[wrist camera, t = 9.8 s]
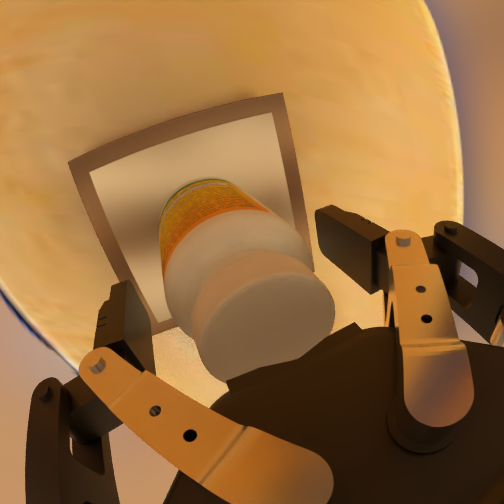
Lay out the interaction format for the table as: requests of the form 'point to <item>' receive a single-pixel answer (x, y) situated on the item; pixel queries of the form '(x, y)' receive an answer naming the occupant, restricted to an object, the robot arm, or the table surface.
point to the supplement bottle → (239, 279)
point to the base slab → (180, 173)
